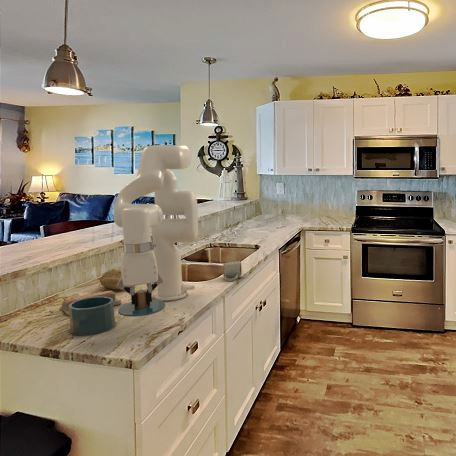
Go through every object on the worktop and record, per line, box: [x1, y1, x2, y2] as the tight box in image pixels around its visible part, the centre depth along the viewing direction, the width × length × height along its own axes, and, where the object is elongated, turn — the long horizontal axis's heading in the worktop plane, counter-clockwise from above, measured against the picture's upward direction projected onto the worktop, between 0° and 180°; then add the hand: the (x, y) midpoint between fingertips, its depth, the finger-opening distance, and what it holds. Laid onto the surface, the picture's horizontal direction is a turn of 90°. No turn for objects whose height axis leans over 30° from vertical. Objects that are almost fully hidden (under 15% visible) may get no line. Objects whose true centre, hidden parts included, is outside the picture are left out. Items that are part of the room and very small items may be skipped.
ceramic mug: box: [222, 261, 243, 282], centre depth 193 cm, size 11×8×8 cm
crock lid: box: [117, 289, 167, 318], centre depth 128 cm, size 14×14×6 cm
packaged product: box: [60, 290, 122, 316], centre depth 154 cm, size 18×5×10 cm
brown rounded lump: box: [99, 269, 122, 290], centre depth 179 cm, size 13×8×20 cm
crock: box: [68, 297, 116, 336], centre depth 134 cm, size 13×13×8 cm
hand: (142, 304), depth 128 cm, fingers closed on crock lid, 3 cm apart
